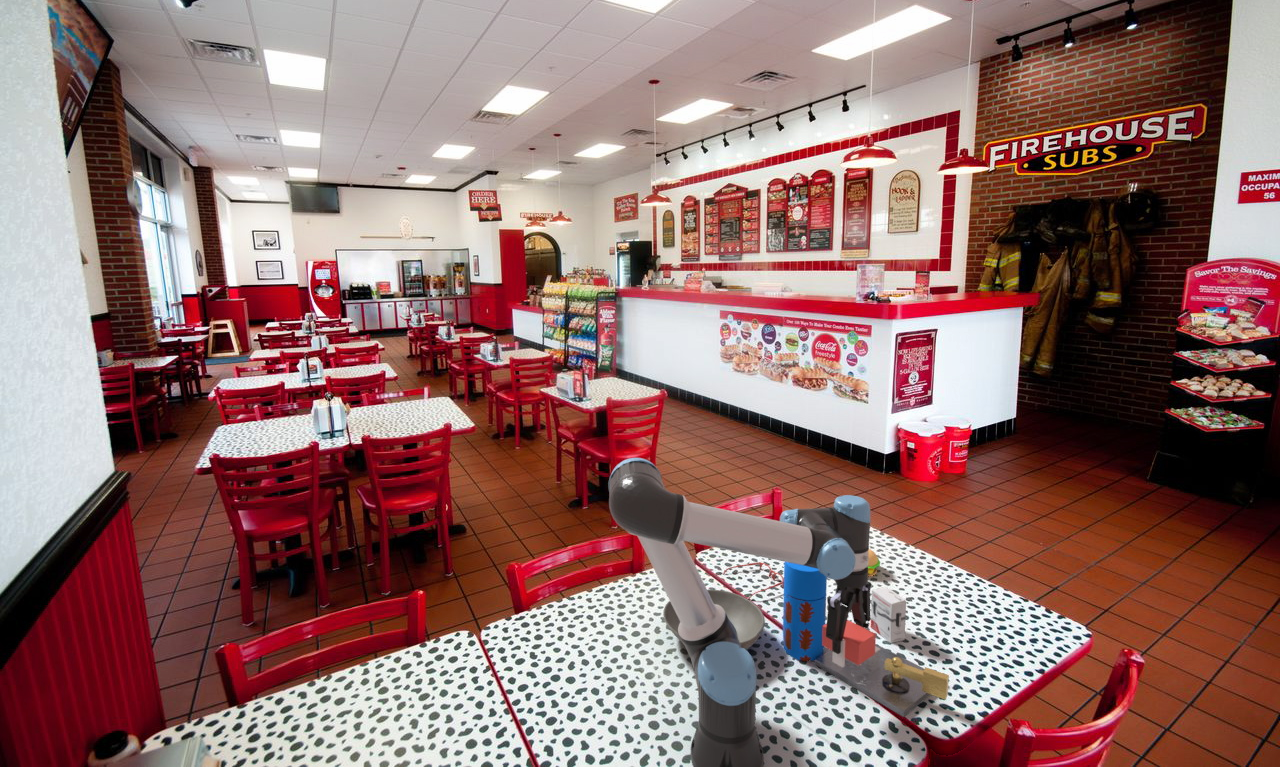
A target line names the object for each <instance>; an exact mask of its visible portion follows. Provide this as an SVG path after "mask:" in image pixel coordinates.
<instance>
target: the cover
mask: <svg viewBox="0 0 1280 767" xmlns="http://www.w3.org/2000/svg"><path fill="white" fill-rule="evenodd" d="M826 627H827V622H825V625H823V630H822V646H824V648H826V649H828V650H831V651H832V640H831V639H829V638H827V637H826ZM876 635H877V634H876V632H873V631H871V630H869V629H868V628H865V627H864V628H863V627H861V626H859V625H857V624H856V623H855V622H854V621H853V622H852V621H850V620H849V619H847V623H846V627H845V632H844V636H843V639H844V640H845V658H846V659H848V660H850V661H851V662H853V663H855V664H857V665H860V664H861V663H863V662H864V661H865V660H867V659H868V658H870V657H871V656H873V655H874V654H875V644H876V640H877V639H876Z"/></svg>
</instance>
